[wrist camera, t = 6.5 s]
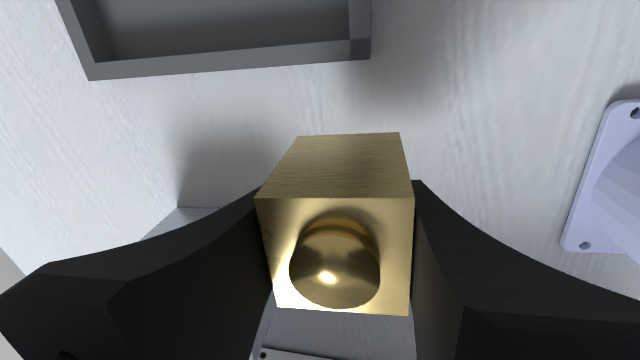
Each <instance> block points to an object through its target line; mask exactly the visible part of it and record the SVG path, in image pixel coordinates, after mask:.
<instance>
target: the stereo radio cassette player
mask: <svg viewBox="0 0 640 360" xmlns="http://www.w3.org/2000/svg"><path fill="white" fill-rule="evenodd" d="M257 360H332V359H326V358H320V357H314V356H308V355H302V354H296V353H290V352H285V351H279V350H273V349H267V348H261V350H260V353H259V356H258V359H257Z"/></svg>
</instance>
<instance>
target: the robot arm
mask: <svg viewBox="0 0 640 360" xmlns="http://www.w3.org/2000/svg"><path fill="white" fill-rule="evenodd" d="M637 107H638V111H637V113H636V114H635V115H633V116H630V113H631V112H632V110H634V109H635V108H637ZM411 184H412V188H413V192H414V196H415V206H414V224H413V241H412V259H411V277H410V294H409V296H410V302H411V307H412V313H413V320H414V329H415V341H416V352H417V360H640V301H639V300H636V299H633V298H630V297H627V296H625V295H622V294H619V293H616V292H613V291H610V290H608V289H605V288H602V287H599V286H596V285H594V284H591V283H588V282H586V281H583V280H580V279H578V278H576V277H573V276H571V275H568V274H566V273H564V272H561V271H559V270H556V269H554V268H552V267H549V266H547V265H545V264H543V263H541V262H539V261H536V260H534V259H532V258H530V257H528V256H526V255H524V254H522V253H520V252H518V251H516V250H514V249H512V248H510V247H508V246H507V245H505V244H503V243H501V242H499V241H498V240H496V239H494V238H493V237H491V236H490V235H488V234H486V233H485V232H483V231H481V230H480V229H478V228H477V227H475V226H474V225H472V224H471V223H470V222H468V221H467V220H465V219H464V218H463V217H461V216H460V215H459V214H458V213H456V212H455V211H454V210H453V209H451V208H450V207H449V206H448V205H447V204H445V203H444V202H443V201H442V200H441V199H440V198H439V197H438V196H436V195H435V194H434V193H433V192H432V191H431V190H430V189H429V188H428V187H427V186H426V185H425V184H424V183H423V182H422V181H421V180H411ZM261 187H262V186H260V187H258V188H257V189H255V190H253V191H251V192H250V193H248V194H246V195H245V196H243V197H241V198H239V199H238V200H236V201H234V202H232V203H230V204H228V205H227V206H225V207H223V208H221V209H219V210H217V211H215V212H213V213H211V214H209V215H207V216H205V217H203V218H201V219H199V220H196V221H194V222H192V223H189V224H187V225H185V226H182V227H180V228H177V229H174V230H171V231H168V232H166V233H163V234H160V235H157V236H154V237H151V238H148V239H145V240H142V241H139V242H135V243H132V244H128V245H125V246H121V247H117V248H113V249H109V250H105V251H101V252H97V253H92V254H88V255H83V256H78V257H73V258H69V259H64V260H59V261H53V262H49V263H47V264H45V265H43V266H41V267H39V268H38V269H36V270H35V271H34V272H32V273H31V274H29V275H28V276H26V277H25V278H24V279H22V280H21V281H20V282H18V283H16V284H15V285H14V286H12V287H11V288H9V289H8V290H6V291H5V292H4V293H2V294H1V295H0V332H1V333H2V335H3V336H4V337H5V338H6V340H7V341H8V342H9V343H10V344H11V345H12V347H13V348H14V349H15V350H16V351H17V352H18V354H20V356H21V357H22V358H23V359H24V360H249V359H250V355H251V352H252V348H253V345H254V341H255V338H256V334H257V331H258V328H259V325H260V322H261V318H262V315H263V312H264V309H265V306H266V304H267V301H268V298H269V296H270V294H271V291H272V289H273V283H272V279H271V274H270V270H269V265H268V261H267V256H266V252H265V247H264V243H263V238H262V234H261V230H260V225H259V221H258V216H257V212H256V207H255V203H254V197H255V195H256V194H257V192H258V191H259V190H260V188H261ZM583 242H585V243H584V244H582V245H580V244H581V243H583ZM560 245H561V246H562V248H563V249H564V250H566V251H568V252H580V253H606V254H628V255H629V256H630V257H631V258H632V259H633V260H634V261H635V262H636V263H638V264H639V265H640V99H630V100H619V101H616V102H614V103H612V104H610V105H609V106H608V107H607V108H606V110H605V112H604V115H603V117H602V120H601V123H600V126H599V129H598V132H597V135H596V138H595V141H594V144H593V146H592V149H591V152H590V155H589V158H588V161H587V164H586V167H585V170H584V172H583V175H582V178H581V181H580V184H579V187H578V190H577V193H576V196H575V199H574V201H573V204H572V207H571V210H570V213H569V216H568V219H567V222H566V225H565V227H564V230H563V233H562V236H561V239H560Z"/></svg>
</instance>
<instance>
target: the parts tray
mask: <svg viewBox="0 0 640 360" xmlns="http://www.w3.org/2000/svg"><path fill="white" fill-rule="evenodd" d="M55 3H56V5H57V7H58V10H59V12H60V14H61V17H62V19H63V22H64V24H65V26H66V29H67V31H68V34H69V36H70V38H71V41H72V43H73V45H74V48H75V50H76V53H77V55H78V57H79V60H80V62H81V64H82V67H83V69H84V72H85V74H86V76H87V79H88V81H97V80H110V79H123V78H135V77H148V76H161V75H174V74H186V73H199V72H212V71H225V70H237V69H250V68H263V67H276V66H288V65H301V64H314V63H327V62H339V61H352V60H365V59H370V56H371V48H370V0H55Z"/></svg>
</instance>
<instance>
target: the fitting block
mask: <svg viewBox="0 0 640 360" xmlns="http://www.w3.org/2000/svg"><path fill="white" fill-rule="evenodd" d="M254 203H255V207H256V212H257V216H258V221H259V225H260V230H261V234H262V238H263V243H264V247H265V252H266V256H267V261H268V265H269V270H270V274H271V279H272V283H273V288H274V292H275V296H276V301H277V305H278V307H288V308H302V309H315V310H329V311H342V312H356V313H369V314H382V315H396V316H408V312H409V294H410V277H411V259H412V241H413V224H414V206H415V196H414V192H413V188H412V184H411V180H410V176H409V171H408V167H407V163H406V159H405V155H404V151H403V146H402V142H401V138H400V134H399V132H390V133H365V134H340V135H315V136H298V137H297V138H296V139H295V141H294V142H293V144H292V145H291V146H290V148H289V149H288V151H287V152H286V153H285V155H284V156H283V158H282V159H281V160H280V162H279V163H278V165H277V166H276V167H275V169H274V170H273V172H272V173H271V174H270V176H269V177H268V178H267V180H266V181H265V183H264V184H263V185H262V187H261V188H260V190H259V191H258V192H257V194H256V195H255V197H254Z"/></svg>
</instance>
